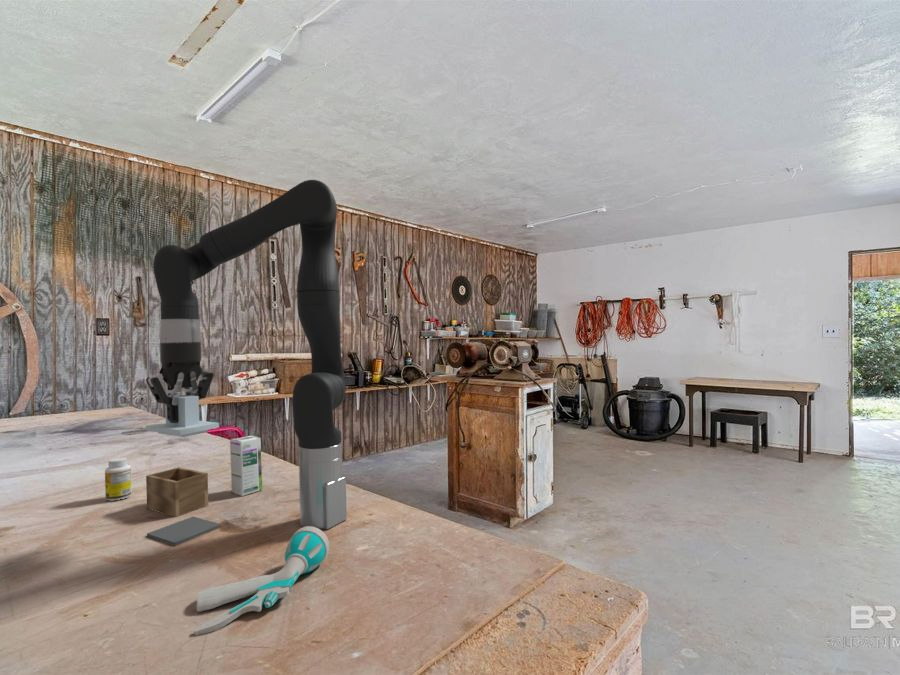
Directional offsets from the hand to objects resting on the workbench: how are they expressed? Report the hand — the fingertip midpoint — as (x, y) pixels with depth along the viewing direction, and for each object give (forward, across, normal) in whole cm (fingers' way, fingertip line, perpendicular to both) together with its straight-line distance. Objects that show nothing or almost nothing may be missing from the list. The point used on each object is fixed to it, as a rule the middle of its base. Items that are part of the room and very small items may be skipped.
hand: (182, 420), depth 97 cm
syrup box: (+24, +23, +10) cm, 35 cm away
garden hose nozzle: (+24, -8, -35) cm, 43 cm away
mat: (+24, 0, 0) cm, 24 cm away
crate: (+24, +8, +16) cm, 30 cm away
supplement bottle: (+24, +5, +37) cm, 44 cm away
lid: (+3, 0, 0) cm, 3 cm away
